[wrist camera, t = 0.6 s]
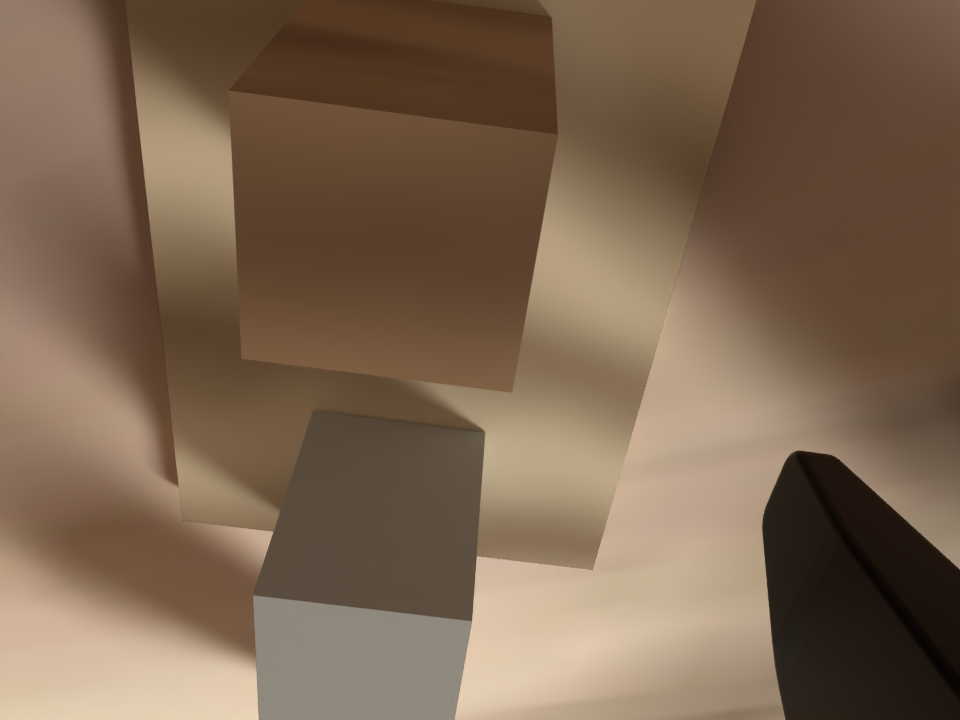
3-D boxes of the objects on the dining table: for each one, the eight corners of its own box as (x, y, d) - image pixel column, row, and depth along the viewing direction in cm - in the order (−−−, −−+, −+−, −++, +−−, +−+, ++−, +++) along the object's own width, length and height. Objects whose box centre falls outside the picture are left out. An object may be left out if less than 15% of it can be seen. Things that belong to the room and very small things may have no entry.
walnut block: (518, 226, 20) (512, 393, 15) (314, 200, 20) (241, 358, 15) (551, 17, 17) (558, 135, 12) (317, -16, 17) (228, 90, 12)
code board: (590, 544, 27) (592, 571, 26) (193, 496, 27) (181, 521, 26) (1002, -933, 11) (1042, -987, 10) (37, -1096, 11) (-6, -1167, 10)
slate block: (466, 549, 26) (450, 742, 21) (311, 531, 26) (258, 720, 21) (485, 431, 23) (471, 621, 18) (312, 411, 23) (252, 595, 18)
